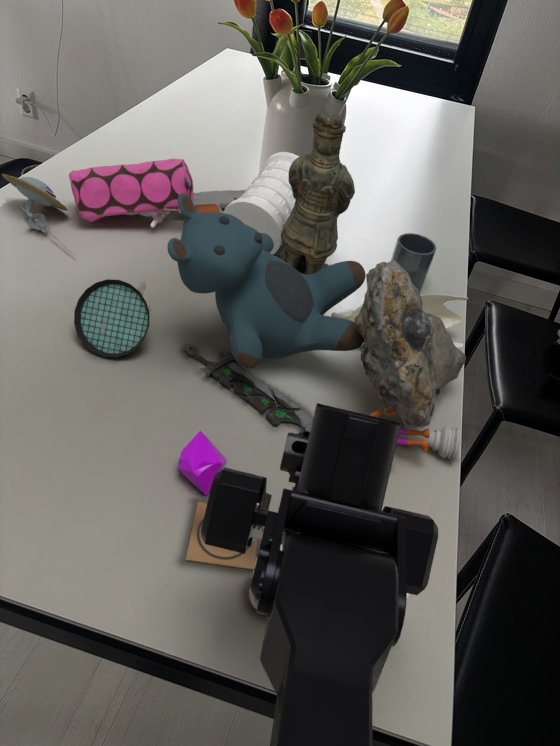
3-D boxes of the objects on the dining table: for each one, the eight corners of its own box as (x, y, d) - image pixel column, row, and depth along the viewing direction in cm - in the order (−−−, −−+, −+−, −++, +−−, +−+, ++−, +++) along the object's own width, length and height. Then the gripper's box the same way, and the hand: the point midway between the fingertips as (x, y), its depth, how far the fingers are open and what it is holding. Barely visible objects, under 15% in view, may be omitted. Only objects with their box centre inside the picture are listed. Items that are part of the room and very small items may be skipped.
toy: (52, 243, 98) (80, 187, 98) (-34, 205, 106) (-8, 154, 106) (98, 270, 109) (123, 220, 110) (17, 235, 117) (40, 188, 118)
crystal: (171, 475, 75) (172, 451, 72) (201, 450, 79) (203, 426, 76) (203, 499, 73) (206, 475, 70) (232, 472, 77) (236, 448, 74)
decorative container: (278, 266, 111) (313, 212, 122) (284, 213, 102) (321, 160, 113) (220, 246, 113) (259, 194, 124) (221, 193, 104) (263, 142, 115)
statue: (340, 274, 113) (382, 108, 92) (323, 300, 106) (364, 127, 86) (284, 254, 115) (313, 88, 94) (264, 278, 108) (290, 105, 88)
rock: (346, 359, 68) (489, 350, 65) (347, 235, 80) (467, 223, 77) (366, 470, 87) (476, 466, 84) (365, 356, 100) (461, 350, 97)
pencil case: (186, 150, 106) (194, 208, 107) (191, 163, 115) (198, 217, 117) (61, 164, 105) (70, 223, 106) (77, 176, 115) (85, 230, 116)
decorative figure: (64, 207, 112) (158, 220, 110) (92, 179, 121) (179, 191, 119) (68, 224, 115) (160, 237, 113) (95, 195, 124) (181, 207, 122)
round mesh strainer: (82, 266, 88) (99, 272, 94) (67, 348, 88) (84, 349, 94) (157, 281, 87) (169, 286, 93) (141, 364, 87) (154, 364, 94)
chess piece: (457, 453, 80) (380, 439, 82) (451, 464, 84) (378, 450, 85) (460, 422, 82) (385, 409, 83) (454, 434, 86) (382, 421, 87)
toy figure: (344, 406, 86) (342, 398, 84) (432, 416, 83) (432, 408, 81) (334, 461, 83) (332, 454, 80) (425, 473, 80) (425, 467, 77)
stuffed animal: (371, 380, 83) (252, 259, 63) (260, 405, 92) (126, 307, 72) (371, 248, 95) (271, 110, 75) (272, 282, 104) (160, 167, 84)
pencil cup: (422, 299, 111) (438, 257, 105) (385, 293, 110) (399, 250, 104) (418, 278, 116) (433, 236, 110) (383, 272, 115) (396, 230, 109)
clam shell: (475, 285, 97) (468, 356, 100) (436, 274, 107) (430, 339, 111) (345, 292, 90) (343, 368, 94) (317, 280, 101) (316, 349, 104)
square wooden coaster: (254, 570, 68) (254, 568, 67) (185, 560, 67) (185, 558, 67) (260, 512, 73) (261, 510, 73) (197, 503, 73) (197, 501, 73)
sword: (337, 426, 85) (308, 451, 81) (207, 337, 95) (175, 355, 90) (338, 422, 85) (309, 448, 80) (207, 333, 94) (175, 352, 90)
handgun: (318, 220, 120) (284, 182, 129) (189, 233, 109) (162, 191, 118) (314, 236, 122) (281, 198, 131) (188, 251, 111) (162, 209, 120)
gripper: (477, 470, 43) (429, 451, 59) (220, 410, 44) (239, 407, 60) (442, 626, 43) (403, 565, 58) (184, 563, 44) (213, 520, 59)
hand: (315, 511), depth 59 cm, fingers open, 9 cm apart
